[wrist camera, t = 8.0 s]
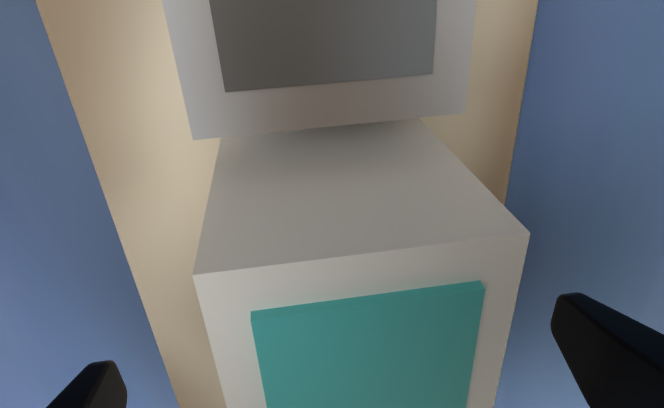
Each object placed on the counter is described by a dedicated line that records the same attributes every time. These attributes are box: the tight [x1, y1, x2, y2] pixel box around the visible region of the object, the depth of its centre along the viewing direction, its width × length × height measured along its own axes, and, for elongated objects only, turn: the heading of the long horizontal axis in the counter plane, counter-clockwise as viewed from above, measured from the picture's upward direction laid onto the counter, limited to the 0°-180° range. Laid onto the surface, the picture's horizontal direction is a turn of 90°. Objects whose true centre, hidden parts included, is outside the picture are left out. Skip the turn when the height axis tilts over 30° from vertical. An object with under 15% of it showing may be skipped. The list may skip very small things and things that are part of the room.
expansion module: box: [192, 118, 530, 408], centre depth 10 cm, size 5×6×6 cm
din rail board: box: [36, 0, 538, 408], centre depth 12 cm, size 12×22×6 cm, turn 3°
